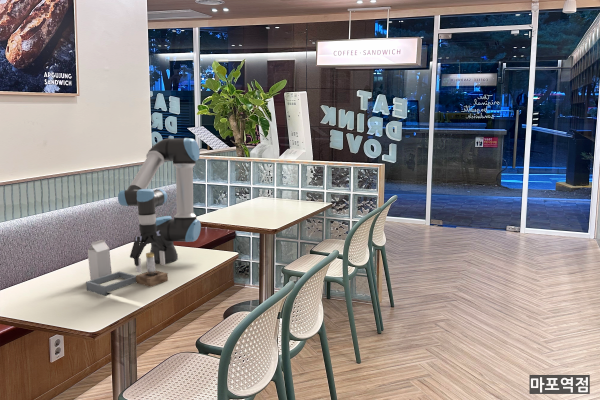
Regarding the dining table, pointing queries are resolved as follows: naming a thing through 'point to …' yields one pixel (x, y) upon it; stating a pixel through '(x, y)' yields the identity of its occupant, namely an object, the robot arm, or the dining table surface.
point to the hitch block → (151, 278)
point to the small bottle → (150, 264)
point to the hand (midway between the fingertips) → (151, 268)
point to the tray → (103, 290)
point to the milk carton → (99, 260)
